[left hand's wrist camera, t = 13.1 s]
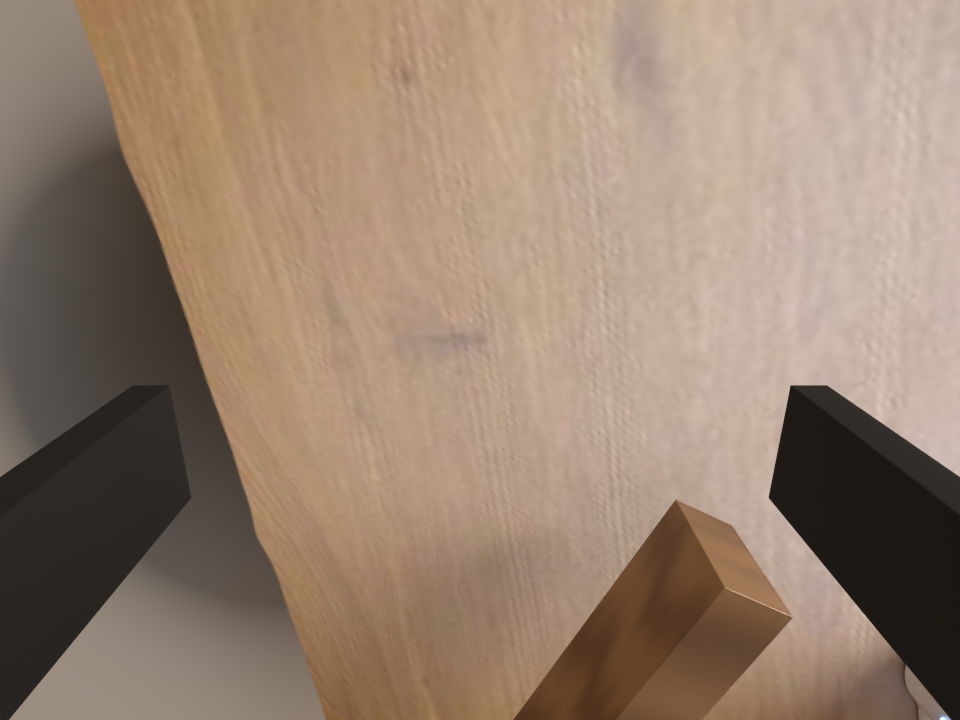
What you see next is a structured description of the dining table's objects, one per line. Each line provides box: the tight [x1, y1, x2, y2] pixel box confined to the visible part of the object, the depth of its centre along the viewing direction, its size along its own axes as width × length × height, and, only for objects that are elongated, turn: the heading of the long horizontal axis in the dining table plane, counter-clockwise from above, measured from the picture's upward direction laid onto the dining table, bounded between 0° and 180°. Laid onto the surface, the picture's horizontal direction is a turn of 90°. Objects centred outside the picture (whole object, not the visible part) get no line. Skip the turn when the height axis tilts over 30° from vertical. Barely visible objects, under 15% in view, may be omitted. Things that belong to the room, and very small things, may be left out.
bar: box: [514, 500, 793, 720], centre depth 44 cm, size 28×5×9 cm, turn 153°
